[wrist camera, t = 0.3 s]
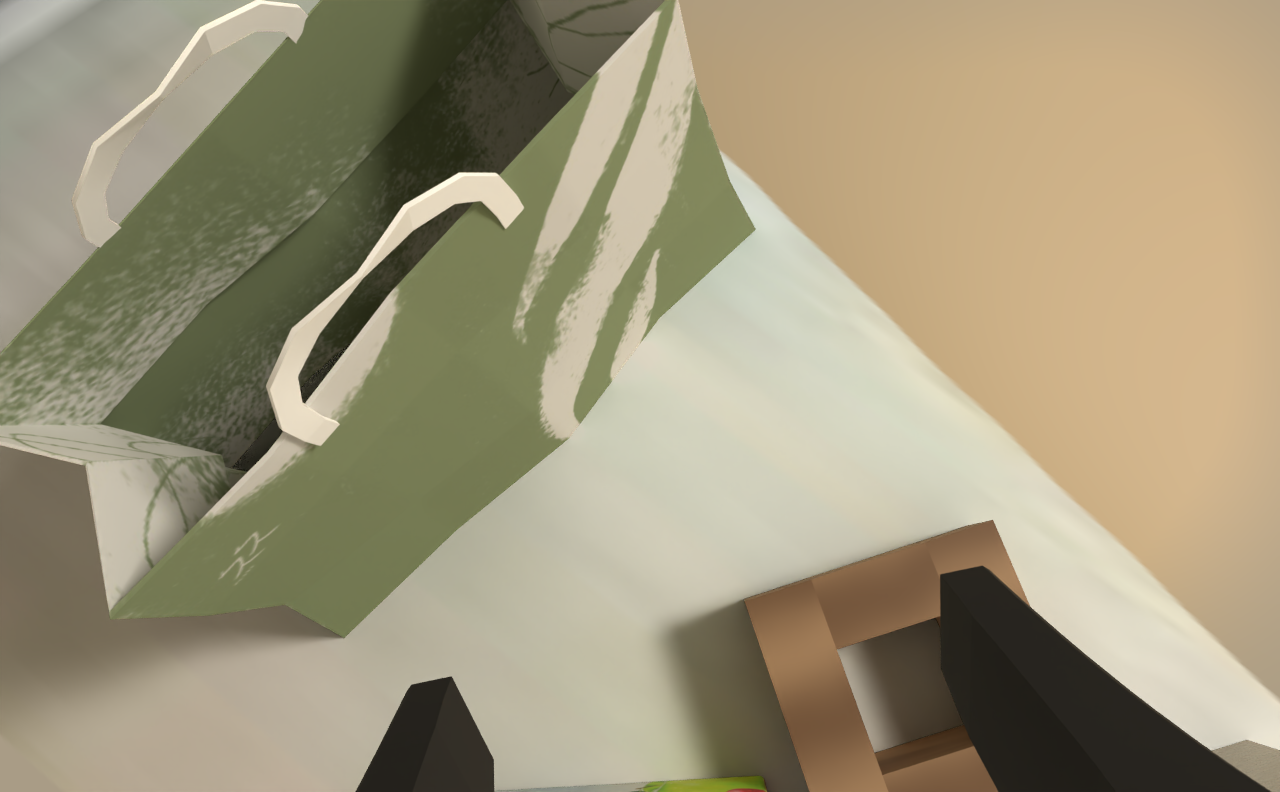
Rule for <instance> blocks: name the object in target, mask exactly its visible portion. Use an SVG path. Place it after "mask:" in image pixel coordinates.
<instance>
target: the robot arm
mask: <svg viewBox="0 0 1280 792" xmlns="http://www.w3.org/2000/svg"><path fill="white" fill-rule="evenodd" d="M940 634H941V670H942V672H943V675H944V677H945V680H946V682H947V685H948V687H949V690H950V692H951V695H952V697H953V700H954V702H955V705H956V707H957V710H958V712H959V714H960V717H961V719H962V721H963V724H964V726H965V729H966V731H967V733H968V736H969V738H970V740H971V742H972V743H973V745H974V747H975V749H976V751H977V753H978V755H979V757H980V759H981V760H982V762H983V764H984V766H985V768H986V770H987V771H988V773H989V775H990V777H991V779H992V781H993V783H994V784H995V786H996V788H997V790H998V792H1271V791H1270V790H1268V789H1267V788H1265V787H1264V786H1262V785H1261V784H1259V783H1258V782H1256V781H1255V780H1253V779H1252V778H1250V777H1249V776H1247V775H1246V774H1244V773H1243V772H1241V771H1240V770H1238V769H1237V768H1235V767H1234V766H1232V765H1231V764H1229V763H1228V762H1227V761H1225V760H1224V759H1222V758H1221V757H1219V756H1218V755H1216V754H1215V753H1214V752H1212V751H1211V750H1209V749H1208V748H1207V747H1205V746H1204V745H1202V744H1201V743H1200V742H1198V741H1197V740H1195V739H1194V738H1193V737H1191V736H1190V735H1188V734H1187V733H1186V732H1184V731H1183V730H1182V729H1180V728H1179V727H1178V726H1176V725H1175V724H1174V723H1172V722H1171V721H1170V720H1168V719H1167V718H1165V717H1164V716H1163V715H1161V714H1160V713H1159V712H1157V711H1156V710H1155V709H1153V708H1152V707H1151V706H1149V705H1148V704H1147V703H1146V702H1144V701H1143V700H1142V699H1140V698H1139V697H1138V696H1137V695H1135V694H1134V693H1133V692H1131V691H1130V690H1129V689H1128V688H1126V687H1125V686H1124V685H1123V684H1121V683H1120V682H1119V681H1118V680H1116V679H1115V678H1114V677H1113V676H1111V675H1110V674H1109V673H1108V672H1107V671H1105V670H1104V669H1103V668H1102V667H1100V666H1099V665H1098V664H1097V663H1095V662H1094V661H1093V660H1092V659H1090V658H1089V657H1088V656H1087V655H1085V654H1084V653H1083V652H1082V651H1081V650H1080V649H1078V648H1077V647H1076V646H1075V645H1074V644H1072V643H1071V642H1070V641H1069V640H1068V639H1066V638H1065V637H1064V636H1063V635H1062V634H1061V633H1060V632H1058V631H1057V630H1056V629H1055V628H1054V627H1053V626H1051V625H1050V624H1049V623H1048V622H1047V621H1046V620H1045V619H1043V618H1042V617H1041V616H1040V615H1039V614H1038V613H1037V612H1035V611H1034V610H1033V609H1032V608H1031V607H1030V606H1029V605H1028V604H1026V603H1025V602H1024V601H1023V600H1022V599H1021V598H1020V597H1019V596H1018V595H1017V594H1015V593H1014V592H1013V591H1012V590H1011V589H1010V588H1009V587H1008V586H1007V585H1006V584H1004V583H1003V582H1002V581H1001V580H1000V579H999V578H998V577H997V576H996V575H995V574H994V573H993V572H992V571H990V570H989V569H987V568H986V567H984V566H983V565H982V566H977V567H973V568H968V569H963V570H958V571H953V572H949V573H944V574H940ZM356 792H494V759H493V757H492V755H491V753H490V751H489V749H488V747H487V745H486V743H485V742H484V740H483V738H482V736H481V734H480V732H479V730H478V728H477V726H476V724H475V722H474V720H473V718H472V716H471V714H470V712H469V710H468V708H467V706H466V704H465V702H464V700H463V698H462V696H461V694H460V692H459V690H458V688H457V686H456V684H455V682H454V680H453V678H452V676H451V677H446V678H442V679H437V680H432V681H427V682H422V683H418V684H413V685H411V686H410V688H409V689H408V690H407V692H406V694H405V696H404V698H403V700H402V702H401V704H400V706H399V708H398V710H397V712H396V714H395V716H394V718H393V720H392V722H391V724H390V726H389V728H388V730H387V732H386V734H385V736H384V738H383V740H382V742H381V744H380V746H379V748H378V750H377V752H376V754H375V756H374V757H373V759H372V761H371V763H370V765H369V767H368V769H367V771H366V773H365V775H364V777H363V779H362V781H361V783H360V784H359V786H358V788H357V790H356Z"/></svg>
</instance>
